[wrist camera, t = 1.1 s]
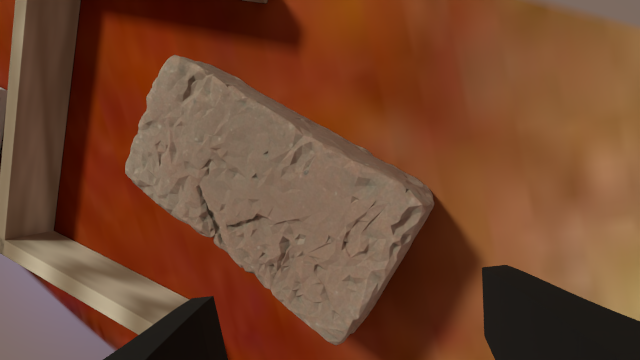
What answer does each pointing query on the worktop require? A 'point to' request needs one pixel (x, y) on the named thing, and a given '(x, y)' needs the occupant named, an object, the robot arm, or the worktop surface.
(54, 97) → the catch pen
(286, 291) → the brick
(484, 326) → the robot arm
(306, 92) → the worktop surface
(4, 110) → the small box
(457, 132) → the worktop surface
